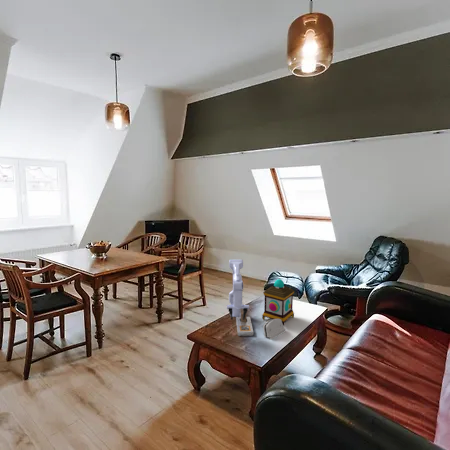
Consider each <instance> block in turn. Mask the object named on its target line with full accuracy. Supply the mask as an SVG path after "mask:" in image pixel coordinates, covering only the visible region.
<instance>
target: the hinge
mask: <svg viewBox="0 0 450 450" xmlns="http://www.w3.org/2000/svg"><path fill="white" fill-rule="evenodd" d="M284 326H285V325H284ZM284 326H283V324H282V321H281V319H270V320H267V321H266V322H265V323H264V324H263V327H262V328H263V336H264V338H269V340H270V341H271V340H273V339H275V338H277V337H278V336H280V335H281V334H283V333H285V332H286V331H287V330H286V328H285V327H284Z"/></svg>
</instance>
